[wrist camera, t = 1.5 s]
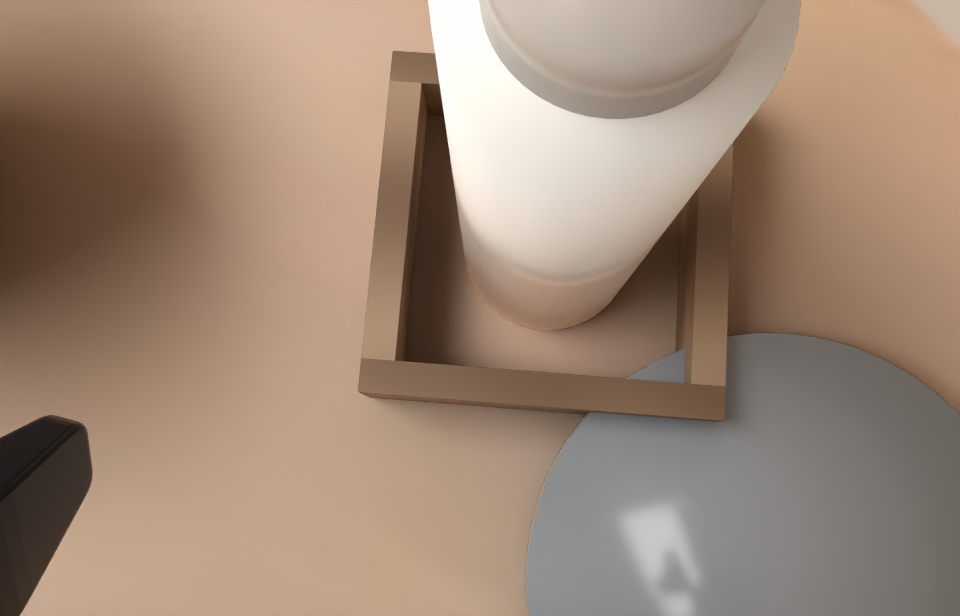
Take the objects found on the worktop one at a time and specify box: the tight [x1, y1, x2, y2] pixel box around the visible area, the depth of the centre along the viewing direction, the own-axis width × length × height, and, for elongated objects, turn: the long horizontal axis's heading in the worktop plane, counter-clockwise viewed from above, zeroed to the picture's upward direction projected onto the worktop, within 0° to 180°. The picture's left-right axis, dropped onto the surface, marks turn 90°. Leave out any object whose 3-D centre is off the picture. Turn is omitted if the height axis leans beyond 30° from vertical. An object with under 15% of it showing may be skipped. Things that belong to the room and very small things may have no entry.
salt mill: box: [428, 0, 801, 330], centre depth 16 cm, size 4×4×14 cm
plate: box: [526, 333, 960, 616], centre depth 21 cm, size 12×12×1 cm
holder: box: [358, 51, 734, 422], centre depth 22 cm, size 9×9×2 cm
